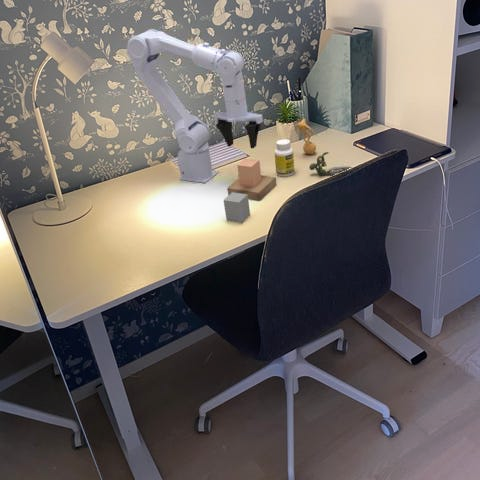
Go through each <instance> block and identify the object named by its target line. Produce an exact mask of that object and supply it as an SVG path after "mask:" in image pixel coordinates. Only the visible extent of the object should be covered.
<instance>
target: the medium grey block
mask: <svg viewBox="0 0 480 480" xmlns="http://www.w3.org/2000/svg"><path fill="white" fill-rule="evenodd" d="M223 206H224V212H225V218H226V221H227V222H233V223H238V224H243V223H244V222H245V221H246V220H247V219H248V218H249V217H250V216H251V211H250V210H251V209H250V202H249V199H248V194H241V193H234V192H232V193H231V194H230V195H229V196H226V197H225V198H224V199H223Z"/></svg>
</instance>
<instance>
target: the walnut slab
mask: <svg viewBox="0 0 480 480" xmlns="http://www.w3.org/2000/svg"><path fill="white" fill-rule="evenodd" d="M276 187H277V177H276V176H270V175H269V176H268V175H262V174H261V181H260V182H259V183H258V184H257V185H256V186H255V187H251V186H243V185H240V183H239V178H237V179H235V181H234V182H232V184H230V185H229V186H227V188H226V189H227V195H228V196H229V195H230V194H231V193H232V192H234V193H241V194H248V200H251V201H256V202H257V201H258V202H261V201H262V200H263V199H264V198H265V197H266V196H267V195H268V194H269V193H271V192H272V191H273V189H274V188H276ZM228 196H227V197H228Z"/></svg>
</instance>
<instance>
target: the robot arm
mask: <svg viewBox="0 0 480 480" xmlns="http://www.w3.org/2000/svg"><path fill="white" fill-rule="evenodd" d="M126 47H127V48H126V55H127V56H128V57H129V59H130V60H131V63H132V65H133V67H134V68H133V69H134V72H135V73H136V76H137V78H138V79H139V80H140V82H141V83H142V84H143V85H144V87H145V88H146V89H147V91H148V92H149V93H150V94H151V96H152V97H153V99H154V100H155V101H156V102H157V104H158V106H160V108H161V110H162V111H163V112H164V113H165V115H166V116H167V117H168V119H169V120H170V121H171V123H172V124H173V126H174V132H173V135H174V137H175V139H177V143H178V145H179V148H180V150H178V153H177V163H178V169H179V175H180V177H179V180H181V181H188V182H195V183H203V184H206V183H207V182H208V181H210V180H211V179H213V178H214V177H215V176H216V175H217V174H218V173H219V171H218V170H213V167H212V159H211V153H210V146H209V140H210V138H211V135H212V134H211V129H210V127H209V126H208V125H207V124H205V123H204V122H203V121H202V120H200V118H199V117H198V116H196V115H194V114H191V113H190V112H189V111H188V110H187V109H186V107H185V106H184V104H183V103H182V102H181V101H180V100H181V99H179V97H178V96H177V95H176V94H175V92H174V91H173V89H172V88H171V87H170V85H169V83H167V81H166V80H165V78H164V77H163V76H162V74H161V73H160V71H159V69H157V64H158V59H159V57H160V54H161V53H164V52H165V53H168V54H169V53H170V54H173V55H177V56H180V57H184V58H188V59H191V60H192V62H193V64H194V66H198V67H200V68H204V69H207V70H209V71H212V72H214V73H216V74H217V75H218V77H220V79H221V85H222V90H223V91H222V93H223V98H224V104H225V110H226V112H225V111H224V112H216V113H215V114H213V119H214V122H217V123H216V124H215V125H216V126H215V127H216V129H218V131H219V132H220V134H221V135H222V137H223V139H224V140H225V143H226V145H227V147H232V146H233V145H234V137H233V123H235V122H238V123H247V124H246V125H245V126H244V128H245V130H246V133H247V135H248V140H249V147H250V149H254V148H256V147H257V142H258V135H259V131H260V128H261V125H262V123H263V122H264V118H263V114H260V113H254V112H250V111H248V106H247V98H246V90H245V85H244V84H245V83H244V79H243V78H244V77H243V71H242V70H243V68H244V67H245V59H244V57H243V55H242V53H240V52H238V51H236V50H229V51H226V49H225V48H222V49H220V48H217V47H214V46H210V43H208V42H206V41H205V42H204V43H199V44H197V45H193V44H192V43H189V42H186V41H183V40H180V39H178V38H177V37H173V36H171V35H169V34H167V33H166V32H164V31H160V30H157V29H153V28H150V29H147V30H146V31H144V32H142V33H140V34H138V35H134V36H132V37H131V36H130V38H129V39H128V41H127V46H126Z"/></svg>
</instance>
